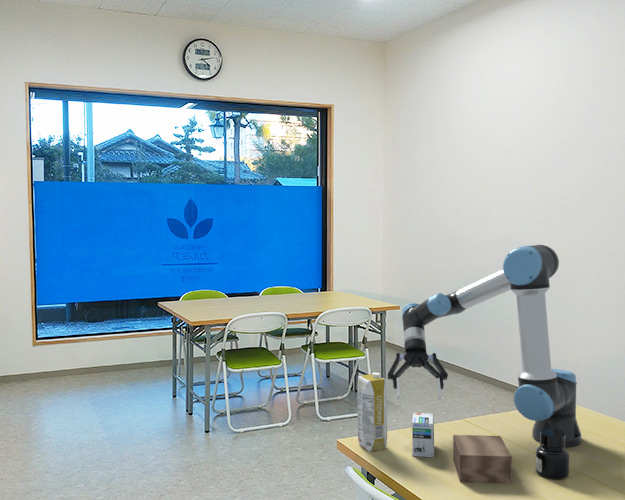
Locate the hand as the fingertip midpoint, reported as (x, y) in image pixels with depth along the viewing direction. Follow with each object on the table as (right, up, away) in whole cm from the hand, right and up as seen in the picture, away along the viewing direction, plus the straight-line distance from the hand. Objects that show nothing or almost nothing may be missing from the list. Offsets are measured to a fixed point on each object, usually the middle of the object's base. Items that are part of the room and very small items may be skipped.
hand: (419, 397), depth 205 cm
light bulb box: (0, -15, -9) cm, 18 cm away
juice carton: (-16, -15, -5) cm, 23 cm away
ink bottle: (+34, -16, -28) cm, 46 cm away
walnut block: (+14, -16, -25) cm, 33 cm away
